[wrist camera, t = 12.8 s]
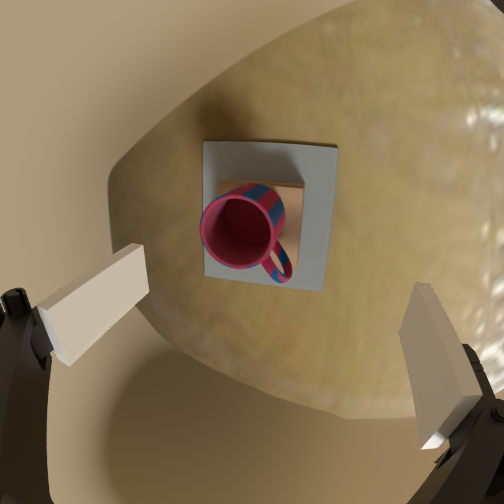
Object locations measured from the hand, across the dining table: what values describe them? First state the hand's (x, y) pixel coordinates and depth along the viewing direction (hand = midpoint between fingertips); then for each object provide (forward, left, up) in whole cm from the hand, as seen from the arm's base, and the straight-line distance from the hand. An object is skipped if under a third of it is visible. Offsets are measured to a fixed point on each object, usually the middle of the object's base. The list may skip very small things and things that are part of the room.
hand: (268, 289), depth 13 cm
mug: (+3, -4, -18) cm, 19 cm away
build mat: (+3, -4, -22) cm, 23 cm away
